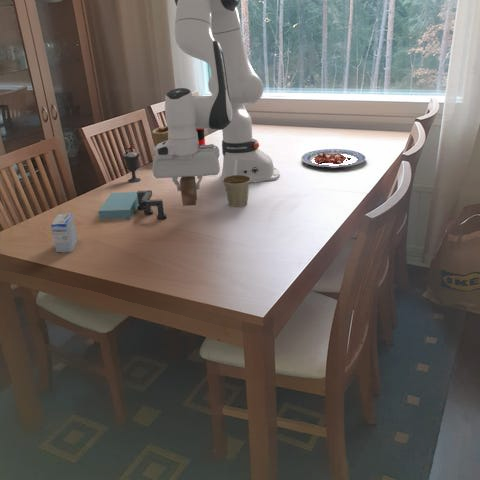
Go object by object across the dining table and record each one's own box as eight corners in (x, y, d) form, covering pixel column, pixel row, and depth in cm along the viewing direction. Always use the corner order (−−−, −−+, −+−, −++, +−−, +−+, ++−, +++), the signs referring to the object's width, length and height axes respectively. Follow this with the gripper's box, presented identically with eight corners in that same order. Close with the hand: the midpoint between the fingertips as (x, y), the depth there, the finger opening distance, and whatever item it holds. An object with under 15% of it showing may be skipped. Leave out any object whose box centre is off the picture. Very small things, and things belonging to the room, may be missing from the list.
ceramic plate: (293, 169, 203) (293, 162, 202) (310, 152, 225) (310, 145, 223) (359, 174, 194) (359, 166, 193) (370, 155, 215) (370, 149, 214)
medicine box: (63, 241, 150) (57, 214, 146) (78, 240, 150) (72, 212, 146) (56, 253, 142) (50, 224, 139) (72, 252, 143) (66, 223, 139)
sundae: (139, 183, 196) (134, 144, 189) (123, 182, 197) (117, 144, 191) (145, 177, 202) (140, 140, 195) (129, 177, 203) (124, 140, 197)
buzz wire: (170, 205, 172) (169, 188, 169) (165, 219, 161) (163, 201, 159) (138, 207, 172) (136, 190, 170) (130, 220, 161) (128, 203, 159)
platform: (141, 199, 179) (139, 191, 177) (130, 218, 163) (129, 209, 162) (112, 201, 179) (111, 192, 178) (99, 219, 164) (98, 210, 162)
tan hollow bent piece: (149, 164, 218) (145, 129, 212) (160, 157, 229) (156, 123, 222) (183, 165, 215) (179, 130, 208) (192, 157, 225) (189, 123, 219)
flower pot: (231, 211, 165) (230, 185, 161) (218, 202, 173) (217, 178, 169) (256, 205, 169) (256, 180, 165) (243, 197, 176) (242, 173, 173)
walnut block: (197, 198, 163) (194, 174, 159) (195, 205, 157) (193, 180, 154) (184, 199, 163) (182, 175, 160) (182, 205, 158) (179, 181, 154)
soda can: (208, 145, 243) (206, 120, 238) (198, 149, 237) (196, 123, 232) (195, 144, 247) (193, 119, 242) (186, 147, 241) (183, 122, 236)
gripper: (219, 141, 155) (222, 184, 161) (152, 144, 156) (158, 187, 162) (218, 146, 149) (221, 191, 155) (148, 150, 150) (154, 194, 156)
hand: (188, 189), depth 158 cm, fingers closed on walnut block, 4 cm apart
